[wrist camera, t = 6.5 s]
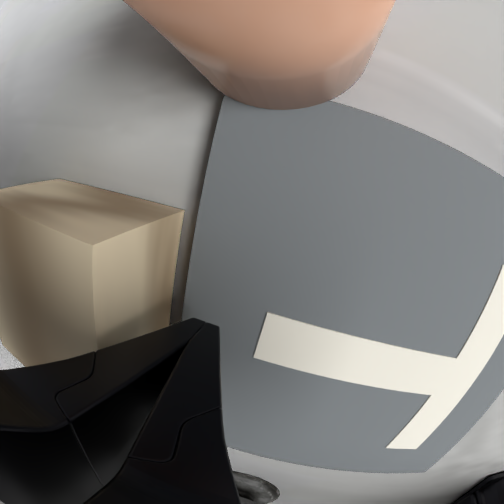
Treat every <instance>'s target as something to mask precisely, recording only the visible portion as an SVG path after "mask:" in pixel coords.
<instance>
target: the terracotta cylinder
mask: <svg viewBox="0 0 504 504" xmlns="http://www.w3.org/2000/svg"><path fill="white" fill-rule="evenodd" d="M123 1H124V2H125V3H126V4H128V5H129V6H130V7H131V8H132V9H134V10H135V11H136V12H137V13H138V14H139V15H141V16H142V17H143V18H144V19H145V20H146V21H147V22H148V23H150V24H151V25H152V26H153V27H154V28H155V29H156V30H157V31H158V32H159V33H160V34H162V35H163V36H164V37H165V38H166V39H167V40H168V41H169V42H170V43H171V44H172V45H173V46H174V47H175V48H176V49H177V50H178V51H179V52H180V53H181V54H182V55H183V56H184V57H185V58H186V59H187V60H188V61H189V62H190V63H191V64H192V65H193V66H194V67H195V68H196V69H197V70H198V71H199V72H200V73H201V74H202V75H203V76H204V77H205V78H206V79H207V80H208V81H209V82H210V83H211V84H212V85H213V86H214V87H215V88H216V89H217V90H219V91H220V92H222V93H223V94H225V95H226V96H228V97H230V98H232V99H234V100H236V101H238V102H241V103H244V104H246V105H250V106H254V107H258V108H265V109H274V110H290V109H300V108H306V107H311V106H315V105H318V104H322V103H324V102H327V101H329V100H332V99H334V98H335V97H337V96H339V95H341V94H342V93H344V92H345V91H346V90H348V89H349V88H350V87H352V86H353V85H354V84H355V83H356V81H357V80H358V79H359V78H360V77H361V75H362V74H363V72H364V70H365V68H366V66H367V64H368V62H369V60H370V58H371V55H372V53H373V51H374V49H375V46H376V44H377V42H378V40H379V37H380V35H381V33H382V31H383V28H384V26H385V24H386V21H387V19H388V17H389V14H390V12H391V10H392V7H393V5H394V3H395V0H123Z"/></svg>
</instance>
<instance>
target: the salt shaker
mask: <svg viewBox="0 0 504 504" xmlns="http://www.w3.org/2000/svg"><path fill="white" fill-rule="evenodd" d="M232 472H233V471H232ZM233 476H234V479H235V483H236V486H237V490H238V493H239V497H240V500H241V503H242V504H267V503H270V502H273V501H274V500H276V499H278V497H279V495H280V493H279V490H278V489H277V488H276V487H275V486H274V485H272V484H271V483H269V482H267V481H265V480H262V479H260V478H257V477H254V476H251V475H248V474H243V473H239V472H233Z"/></svg>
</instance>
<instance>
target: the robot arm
mask: <svg viewBox="0 0 504 504" xmlns="http://www.w3.org/2000/svg"><path fill="white" fill-rule="evenodd" d="M0 504H242V503H241V500H240V497H239V493H238V490H237V486H236V483H235V479H234V476H233V472H232V468H231V464H230V460H229V456H228V452H227V446H226V441H225V435H224V425H223V410H222V387H221V357H220V327H219V326H217V325H214V324H211V323H208V322H207V323H206V322H205V321H203V320H200V319H197V318H194V317H193V318H190V319H187V320H184V321H181V322H179V323H176V324H173V325H170V326H167V327H165V328H162V329H159V330H156V331H153V332H150V333H147V334H145V335H142V336H139V337H136V338H133V339H130V340H127V341H124V342H121V343H118V344H115V345H112V346H109V347H105V348H102V349H99V350H97V351H96V352H95V351H93V352H89V353H86V354H83V355H79V356H76V357H72V358H69V359H65V360H60V361H55V362H51V363H46V364H40V365H34V366H28V367H22V368H15V369H8V370H0ZM453 504H504V473H500V474H497V475H493V476H490V477H488V478H487V479H485V480H484V481H483V482H481V483H480V484H479V485H478V486H476V487H475V488H474V489H472V490H471V491H470V492H468V493H467V494H466V495H464V496H463V497H461V498H460V499H458V500H457V501H456V502H454V503H453Z"/></svg>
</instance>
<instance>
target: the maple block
mask: <svg viewBox="0 0 504 504" xmlns="http://www.w3.org/2000/svg"><path fill="white" fill-rule="evenodd" d="M184 211H185V210H181V209H178V208H174V207H170V206H166V205H163V204H159V203H155V202H151V201H147V200H144V199H140V198H136V197H132V196H128V195H124V194H120V193H116V192H112V191H108V190H104V189H100V188H96V187H92V186H88V185H84V184H80V183H75V182H71V181H67V180H63V179H53V180H47V181H40V182H34V183H28V184H23V185H17V186H12V187H7V188H2V189H0V338H1V341H2V344H3V346H4V347H5V348H6V349H7V350H8V351H9V352H10V353H11V354H12V355H13V356H14V357H15V358H17V359H18V360H19V361H20V362H21V363H22V364H23V365H24V366H25V367H28V366H34V365H40V364H46V363H51V362H55V361H60V360H65V359H69V358H72V357H76V356H79V355H83V354H86V353H89V352H93V351H95V352H96V351H97V350H99V349H102V348H105V347H109V346H112V345H115V344H118V343H121V342H124V341H127V340H130V339H133V338H136V337H139V336H142V335H145V334H147V333H150V332H153V331H156V330H159V329H162V328H165V327H167V326H169V322H170V312H171V303H172V294H173V285H174V277H175V270H176V262H177V255H178V248H179V242H180V235H181V229H182V223H183V217H184Z"/></svg>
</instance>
